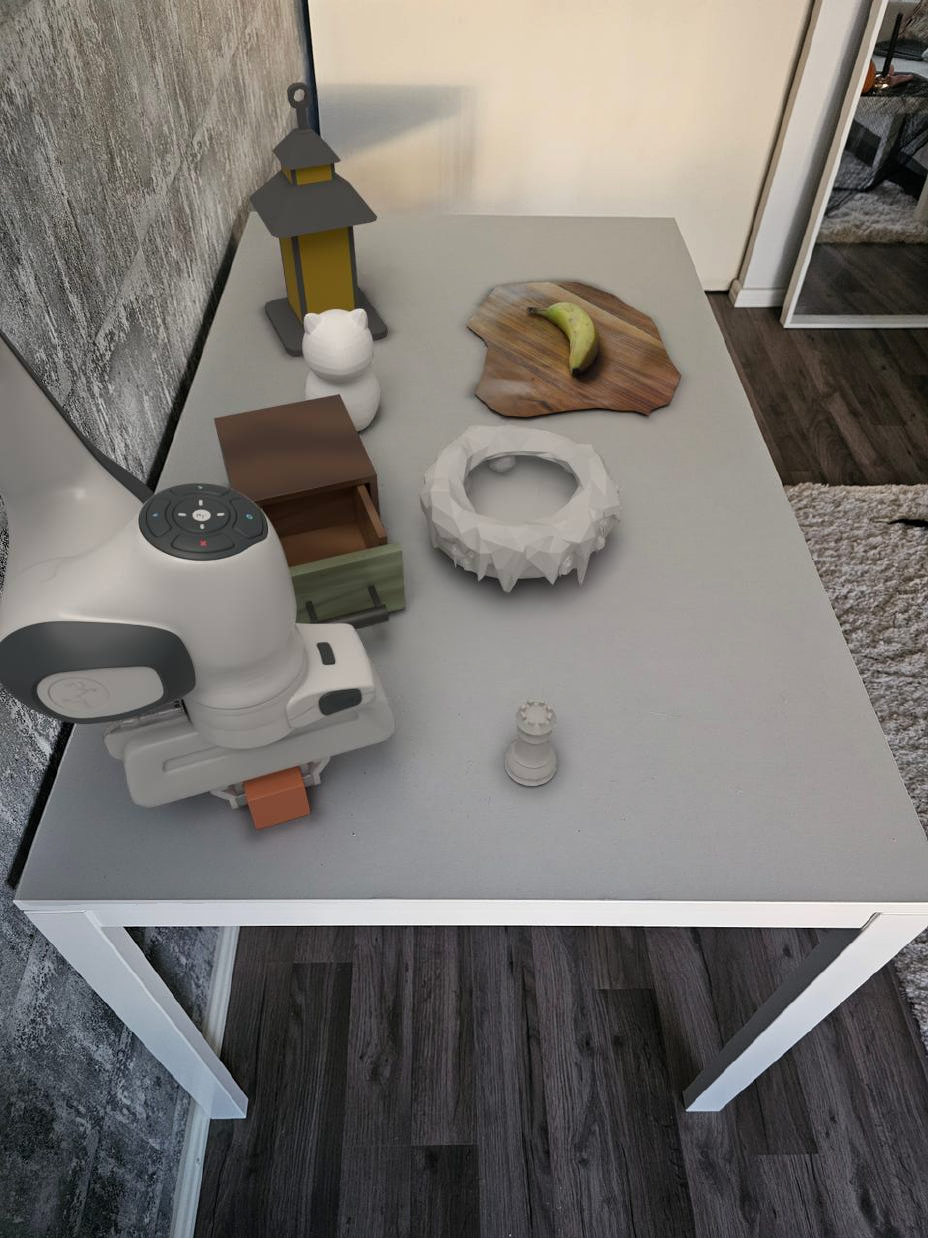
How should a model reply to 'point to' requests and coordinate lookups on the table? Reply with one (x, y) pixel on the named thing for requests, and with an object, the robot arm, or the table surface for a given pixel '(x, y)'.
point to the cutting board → (569, 351)
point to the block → (276, 797)
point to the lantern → (312, 231)
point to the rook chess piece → (532, 745)
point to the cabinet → (295, 451)
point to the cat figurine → (342, 362)
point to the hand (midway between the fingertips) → (275, 789)
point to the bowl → (519, 503)
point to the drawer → (339, 558)
